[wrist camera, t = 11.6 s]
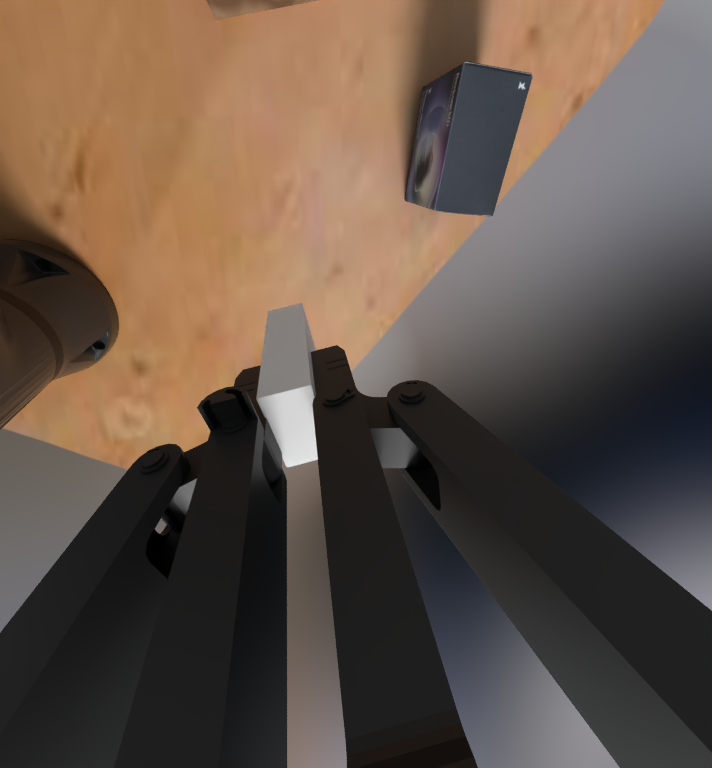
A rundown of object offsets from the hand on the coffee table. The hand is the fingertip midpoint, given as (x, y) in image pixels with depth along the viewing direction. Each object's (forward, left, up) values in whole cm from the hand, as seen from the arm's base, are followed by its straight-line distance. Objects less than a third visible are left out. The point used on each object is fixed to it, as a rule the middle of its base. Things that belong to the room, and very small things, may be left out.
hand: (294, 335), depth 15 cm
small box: (+18, +5, -30) cm, 35 cm away
